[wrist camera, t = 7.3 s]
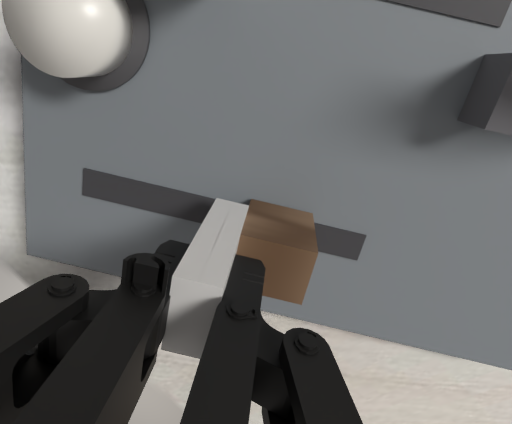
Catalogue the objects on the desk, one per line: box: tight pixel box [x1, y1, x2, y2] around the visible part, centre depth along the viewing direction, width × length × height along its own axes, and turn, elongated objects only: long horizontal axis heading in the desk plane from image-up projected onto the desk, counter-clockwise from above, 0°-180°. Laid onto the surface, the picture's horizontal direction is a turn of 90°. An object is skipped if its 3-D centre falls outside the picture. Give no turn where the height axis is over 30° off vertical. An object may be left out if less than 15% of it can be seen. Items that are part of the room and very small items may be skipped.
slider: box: [236, 199, 318, 305], centre depth 16 cm, size 3×2×4 cm
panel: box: [21, 0, 512, 370], centre depth 17 cm, size 28×18×5 cm, turn 78°
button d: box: [2, 0, 133, 78], centre depth 14 cm, size 4×4×2 cm
